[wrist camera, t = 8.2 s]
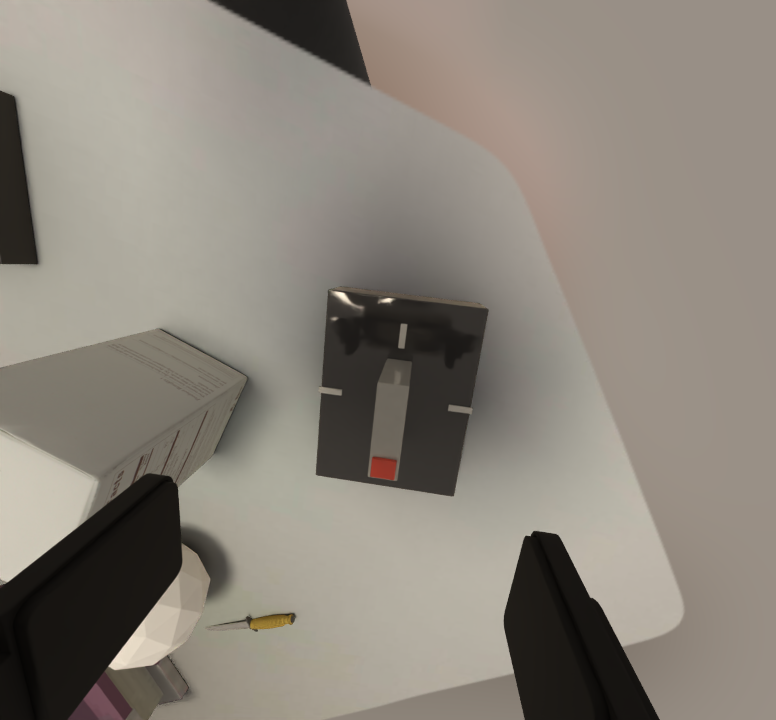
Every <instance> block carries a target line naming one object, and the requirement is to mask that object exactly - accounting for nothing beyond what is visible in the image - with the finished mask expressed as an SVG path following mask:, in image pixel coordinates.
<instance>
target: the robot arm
mask: <svg viewBox="0 0 776 720" xmlns="http://www.w3.org/2000/svg"><path fill="white" fill-rule="evenodd" d="M182 561H183V559H182V544H181V528H180V513H179V498H178V486H177V484H176V483H174V482H173V479H172V477H170V476H166V475H159V474H153V473H148V474H145V475H144V476H142V477H141V478H140V479H138V480H137V481H136V482H134V483H133V484H132V485H131V486H129V487H128V488H127V489H126V490H124V491H123V492H122V493H120V494H119V495H118V496H117V497H115V498H114V499H113V500H112V501H110V502H109V503H108V504H107V505H105V506H104V507H103V508H101V509H100V510H99V511H98V512H96V513H95V514H94V515H93V516H91V517H90V518H89V519H87V520H86V521H85V522H84V523H82V524H81V525H80V526H79V527H77V528H76V529H75V530H73V531H72V532H71V533H70V534H68V535H67V536H66V537H65V538H63V539H62V540H61V541H59V542H58V543H57V544H56V545H54V546H53V547H52V548H51V549H49V550H48V551H47V552H45V553H44V554H43V555H42V556H40V557H39V558H38V559H37V560H35V561H34V562H33V563H31V564H30V565H29V566H28V567H26V568H25V569H24V570H23V571H21V572H20V573H19V574H17V575H16V576H15V577H14V578H12V579H11V580H10V581H9V582H7V583H6V584H5V585H4V586H2V587H1V588H0V720H68V719H69V717H70V716H71V715H72V713H73V712H74V711H75V709H76V708H77V707H78V706H79V704H80V703H81V702H82V700H83V699H84V698H85V696H86V695H87V694H88V692H89V691H90V690H91V689H92V687H93V686H94V685H95V683H96V682H97V681H98V679H99V678H100V677H101V675H102V674H103V673H104V671H105V670H106V669H107V668H108V666H109V665H110V664H111V662H112V661H113V660H114V658H115V657H116V656H117V654H118V653H119V652H120V651H121V649H122V648H123V647H124V645H125V644H126V643H127V641H128V640H129V639H130V637H131V636H132V635H133V633H134V632H135V631H136V630H137V628H138V627H139V626H140V624H141V623H142V622H143V620H144V619H145V618H146V616H147V615H148V614H149V613H150V611H151V610H152V609H153V607H154V606H155V605H156V603H157V602H158V601H159V599H160V598H161V597H162V595H163V594H164V593H165V592H166V590H167V589H168V588H169V586H170V585H171V584H172V582H173V581H174V580H175V578H176V577H177V576H178V574H179V572H180V570H181V567H182ZM504 629H505V634H506V639H507V643H508V647H509V652H510V656H511V661H512V665H513V669H514V674H515V678H516V682H517V687H518V691H519V696H520V700H521V705H522V709H523V713H524V718H525V720H660V719H659V718H658V716H657V714H656V712H655V710H654V708H653V706H652V704H651V702H650V700H649V698H648V696H647V694H646V693H645V691H644V689H643V687H642V685H641V683H640V681H639V679H638V677H637V675H636V673H635V671H634V669H633V667H632V666H631V664H630V662H629V660H628V658H627V656H626V654H625V652H624V650H623V648H622V646H621V644H620V642H619V640H618V638H617V636H616V635H615V633H614V631H613V629H612V627H611V625H610V623H609V621H608V619H607V617H606V615H605V613H604V611H603V609H602V608H601V606H600V605H599V603H598V602H597V601H596V600H595V599H593V598H590V596H589V594H588V592H587V590H586V588H585V586H584V584H583V582H582V580H581V578H580V576H579V574H578V572H577V570H576V568H575V566H574V564H573V562H572V560H571V558H570V556H569V554H568V552H567V550H566V548H565V546H564V544H563V542H562V540H561V539H560V537H559V536H558V535H557V534H552V533H546V532H539V531H533V533H532V534H531V536H525V538H524V540H523V544H522V548H521V552H520V556H519V560H518V563H517V567H516V571H515V575H514V579H513V582H512V586H511V590H510V594H509V598H508V602H507V605H506V609H505V613H504Z"/></svg>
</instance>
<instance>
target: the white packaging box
mask: <svg viewBox="0 0 776 720" xmlns="http://www.w3.org/2000/svg"><path fill="white" fill-rule="evenodd" d="M246 381H247V377H246V376H245V375H243V374H241V373H239V372H237V371H236V370H234V369H232V368H230V367H228V366H226V365H225V364H223V363H221V362H219V361H217V360H215V359H213V358H211V357H210V356H208V355H206V354H204V353H202V352H200V351H199V350H197V349H195V348H193V347H191V346H189V345H187V344H186V343H184V342H182V341H180V340H178V339H176V338H174V337H173V336H171V335H169V334H167V333H165V332H163V331H162V330H160V329H155V330H151V331H147V332H143V333H138V334H134V335H130V336H126V337H122V338H118V339H114V340H110V341H106V342H102V343H98V344H94V345H90V346H86V347H82V348H78V349H74V350H70V351H66V352H62V353H58V354H54V355H50V356H46V357H42V358H38V359H34V360H29V361H25V362H21V363H17V364H13V365H9V366H6V367H1V368H0V579H1V580H3V581H6V582H9V581H10V580H11V579H12V578H14V577H15V576H16V575H17V574H19V573H20V572H21V571H23V570H24V569H25V568H26V567H28V566H29V565H30V564H31V563H33V562H34V561H35V560H37V559H38V558H39V557H40V556H42V555H43V554H44V553H45V552H47V551H48V550H49V549H51V548H52V547H53V546H54V545H56V544H57V543H58V542H59V541H61V540H62V539H63V538H65V537H66V536H67V535H68V534H70V533H71V532H72V531H73V530H75V529H76V528H77V527H79V526H80V525H81V524H82V523H84V522H85V521H86V520H87V519H89V518H90V517H91V516H93V515H94V514H95V513H96V512H98V511H99V510H100V509H101V508H103V507H104V506H105V505H107V504H108V503H109V502H110V501H112V500H113V499H114V498H115V497H117V496H118V495H119V494H120V493H122V492H123V491H124V490H126V489H127V488H128V487H129V486H131V485H132V484H133V483H134V482H136V481H137V480H138V479H140V478H141V477H142V476H144V475H145V474H148V473H153V474H159V475H166V476H170V477H172V479H173V482H174V483H176V484H177V486H178V487H179V486H180V485H181V484H182V483H183V482H184V481H185V480H186V479H188V478H189V477H190V476H191V475H192V474H193V473H194V472H195V471H196V470H198V469H199V468H200V467H201V466H202V465H203V464H204V463H205V462H206V461H207V460H208V459H210V458H211V457H212V455H213V453H214V451H215V449H216V446H217V444H218V442H219V440H220V438H221V435H222V433H223V431H224V429H225V427H226V425H227V422H228V420H229V418H230V416H231V414H232V412H233V409H234V407H235V405H236V403H237V401H238V399H239V396H240V394H241V392H242V390H243V387H244V385H245V383H246Z"/></svg>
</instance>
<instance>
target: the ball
mask: <svg viewBox="0 0 776 720" xmlns="http://www.w3.org/2000/svg"><path fill="white" fill-rule="evenodd" d="M181 544H182V559H183V561H182V567H181V570H180V572H179V574H178V576H177V577H176V578H175V580H174V581H173V582H172V584H171V585H170V586H169V588H168V589H167V590H166V592H165V593H164V594H163V595H162V597H161V598H160V599H159V601H158V602H157V603H156V605H155V606H154V607H153V609H152V610H151V611H150V613H149V614H148V615H147V616H146V618H145V619H144V620H143V622H142V623H141V624H140V626H139V627H138V628H137V630H136V631H135V632H134V633H133V635H132V636H131V637H130V639H129V640H128V641H127V643H126V644H125V645H124V647H123V648H122V649H121V651H120V652H119V653H118V654H117V656H116V657H115V658H114V660H113V661H112V662H111V664H110V665H109V667H110V668H112V669H114V670H120V669H128V668H135V667H143V666H151V665H154V664H155V663H157V662H158V661H159V660H161V659H162V658H164V657H165V656H167V655H168V654H169V653H171V652H172V651H174V650H175V649H176V648H178V647H179V646H181V645H182V644H183V643H185V642H186V641H187V640H188V638H189V636H190V634H191V633H192V631H193V629H194V627H195V625H196V624H197V622H198V620H199V618H200V616H201V615H202V612H203V608H204V604H205V600H206V596H207V592H208V588H209V584H210V580H211V579H210V577H209V575H208V574H207V572H206V570H205V568H204V566H203V564H202V562H201V560H200V558H199V557H198V555H197V554H196V553H195V552H194V551H192V550H191V549H190V548H188V547H187V546H185V545H184V544H183V543H181Z"/></svg>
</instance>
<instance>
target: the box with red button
mask: <svg viewBox="0 0 776 720" xmlns="http://www.w3.org/2000/svg"><path fill="white" fill-rule="evenodd" d="M411 369H412V362H411V361H404V360H396V359H386V362H385V365H384V367H383V370H382V372H381V375H380V377H379V380H378V383H377V390H376V400H375V409H374V419H373V428H372V438H371V447H370V457H369V466H368V477H373V478H380V479H386V480H393V481H397V479H398V472H399V464H400V456H401V449H402V441H403V433H404V426H405V418H406V410H407V403H408V395H409V387H410V378H411Z"/></svg>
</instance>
